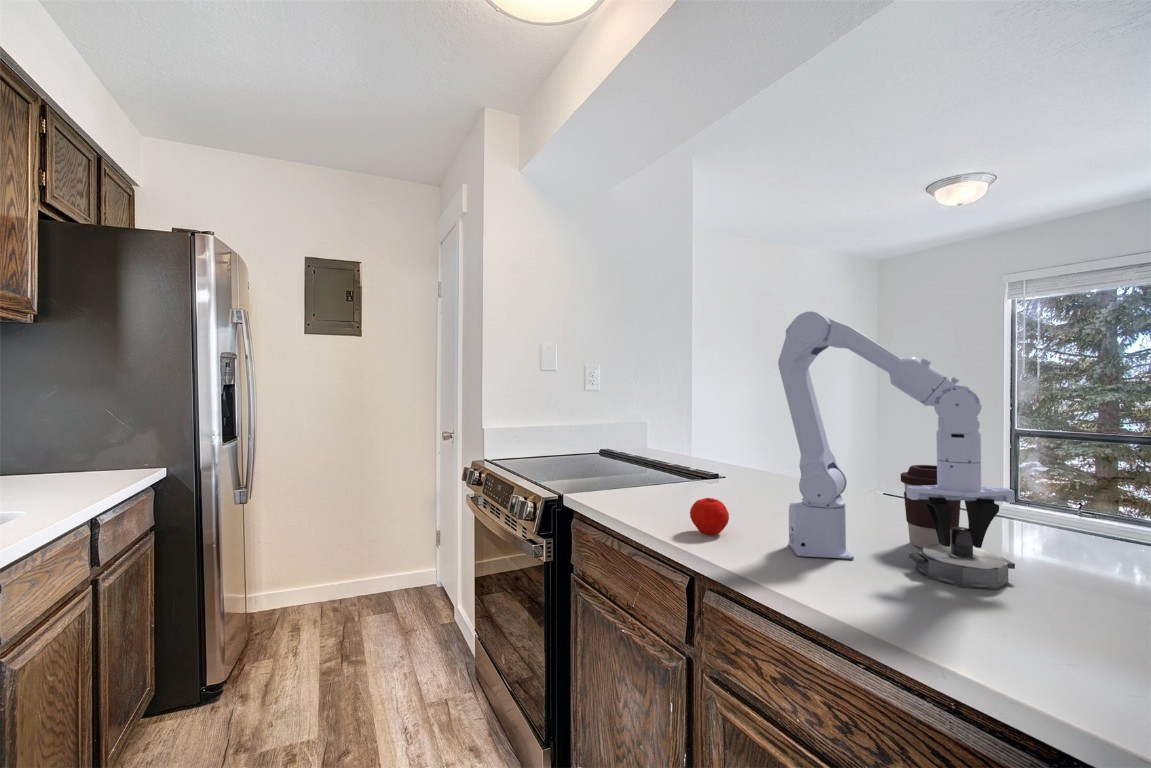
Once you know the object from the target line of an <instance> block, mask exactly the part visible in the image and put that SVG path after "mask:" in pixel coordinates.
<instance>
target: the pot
mask: <svg viewBox="0 0 1151 768" xmlns="http://www.w3.org/2000/svg"><path fill="white" fill-rule="evenodd" d="M1001 557H1002V556H1001ZM908 558H909V559H910V560H912V561H913V562H914V563H915V569H916V570H917V571H918V572H920V574H921V575H924V577H926V578H928V579H930V580H933V581H937V582H940V583H944V584H949V585H952V586H956V587H959V588H963V589H979V590H999V589H1001V588H1003V587H1005V586H1006V585H1008V584H1009V569H1010V570H1015V569H1016V563H1014V562H1013V561H1010V560H1009V559H1006V558H1005V557H1002V558H1003V559H1004V560H1005V566H1004V567H1002V568H999V569H972V568H964V567H958V566H953V565H949V564H945V563H941V562H938V561H935V560H933V559H930V558H928V557H926V556H925V555H924V554H923V548H918V549H916V550H915V551H914V552H908Z"/></svg>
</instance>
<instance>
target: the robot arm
mask: <svg viewBox="0 0 1151 768" xmlns="http://www.w3.org/2000/svg"><path fill="white" fill-rule="evenodd" d="M829 347H833V348H837V349H847V350H849V351H851V352H853V353H854V354H856V355H857V356H860V357H861V358H863V359H865V361H868V363H869V362H870V363H872V364H873V365H875V366H877V367H878V368H880V369H881V370H883V371H885V372H887V374H888V375H889V380H890V384H891V386H894V387H895V388H897V389H898V390H900V391H901V392H904V393H905V394H906V395H908V396H909V397H911V398H912V399H914V400H916V401H917V402H919V403H920V404H922V405H923V406H924V407H928V406H930V407H933V408H934V412H935V413H936V414H937V416H938V418H937V423H938V424H937V427H938V428H937V429H938V430H937V431H936V466H937V485H925V486H907V498H909V499H912V500H919V499H922V503H923V504H924V506H925V508H926V509H927V511H928V513H929V515H930V517H931V519H932V521H933V524H934V526H935V529H936V533H937V536H938V541H939V543H940V544H942V545H943V546H948V547H950V542H951V537H950V523H951V516H952V511H953V507H952V506H951V505H948V502H946V500H961V501H964V504H965V508H966V513H967V520H968V522H967V523H968V528H969V529H972V530H973V548H976V549H982V547H983V544H984V543H983V542H984V540H985V536H986V534H987V531H988V529H989V527H990V524H991V523H992V521H993V520H994V518H995V517H996V516H997V514H998V513H999V512H1000V505H999V504H997V503H995V502H1004V503H1010V504H1014V503H1015V490H1013V489H1010V488H1007V487H1006V488H1005V487H1004V488H1003V487H991V486H989V487H988V486H982V445H981V444H982V441H981V437H982V435H981V433H980V432H979V429H980V428H981V427H980V420H979V418H978V416H980V413H981V411H982V406H983V405H982V404H981V401H980V398H979V396H978V395H977V393H975V392H974V391H973V390H971V388H969V387H968V386H966V385H957V384H958V383H959V382H960V379H959V378H957V377H956V376H952V377H950V376H947V375H946V374H944V373H943V372H941V371H940V370H938V369H936V368H935V367H933V366H931V365H930V364H932V362H931V361H930V360H928V359H926V358H925V357H923V358H922V359H919V358H917V357H916V356H911V357H904V358H901V357H900V356H898V355H897V354H894V353H893V352H891V351H890V350H888V349H887V348H885V347H884V346H882V345H881V344H879V343H878V342H876V341H874V340H873V339H871V337H868V336H866V335H865V334H864V333H862V332H861V331H859V330H857V329H855V328H853V327H852V326H849V325H847V324H844V323H841V322H840V321H837V320H834V319H831V318H830V317H827V316H824V315H823V314H821V313H819V312H817V311H805V312H804V311H803V312H802V313H800V314H798V315H797V316H796V317H795V318H793V320H792V321H791V323H790V324H789V325H788V327H787V328H786V330H785V339H784V341H783V344H782V348H781V351H780V354H779V357H778V363H777V365H778V370H779V374H780V379H781V382H782V385H783V389H784V393H785V397H786V400H787V406H788V410H789V414H790V416H791V420H792V424H793V428H794V432H795V436H796V441H797V445H798V448H799V451H800V459H799V465H798V466H799V469H800V470H799V471H800V479H799V483H798V484H799V485H798V488H799V493H800V495H801V496H802V498H801V502H791V503H790V504H789V505H788V506H789V507H788V545H789V546H790V548H791V549H792V551H793V552H794V553H795V555H796V556H797V557H805V558H806V557H810V558H812V557H813V558H828V559H829V558H830V559H832V558H833V559H845V560H847V559H848V560H853V559H855V556H854V555H853V554H852V553H851V551H849V550H848V549H847V538H846V537H847V534H846V533H847V531H846V530H847V529H846V528H847V526H846V501H845V500H844V499H843V497H842V495H841V494H843V492H845V490H846V487H847V477H846V475H845V473H844V472H843V471H842V469H841V468H840V467H839V466H838V463H837V460H836V458H835V456H834V453H833V452H832V451H831V449H830V445H829V442H828V438H827V434H826V431H825V428H824V427H825V426H824V423H823V419H822V416H821V412H820V408H819V404H818V401H817V396H816V392H815V389H814V385H813V381H812V378H811V374H810V369H809V367H811V365H812V364H813V362H814V361H815V359H816V358H817V356H818V355H819V354H821V353H822V352H823V351H825V350H826V349H828V348H829Z"/></svg>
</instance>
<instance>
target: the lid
mask: <svg viewBox="0 0 1151 768" xmlns="http://www.w3.org/2000/svg"><path fill="white" fill-rule="evenodd" d="M923 554H924V555H925V556H926V557H928V558H930V559H933V560H935V561H938V562H941V563H945V564H949V565H953V566H958V567H964V568H972V569H999V568H1002V567H1004V566H1005V560H1004V559H1003V558H1004V557H1003V558H1002V556H1000V555H998V554H997V553H993V552H990V551H987V550H985V549H982V548H976V547H974V546H973V530H972V529H969V527H963V526H959V527H951V545H950V547H948V546H943V545H942V544H933V545H927V546H924V547H923Z"/></svg>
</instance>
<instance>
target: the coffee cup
mask: <svg viewBox="0 0 1151 768" xmlns="http://www.w3.org/2000/svg"><path fill="white" fill-rule="evenodd" d="M900 483H903V484H904V492H903V497H904V499H903V500H904V509H905V519H906V522H907V527H908V539H909V543H910V544H911V545H913V547H917V548H918V549H920V548H923V547H924V546H927V545H933V544H940V543H939V541H938V536H937V533H936V529H935V526H934V524H933V521H932V519H931V517H930V515H929V513H928V511H927V509H926V508H925V506H924V504H923V503H922V499H919V500H912V499H909V498H907V486H925V485H937V465H935V464H934V465H933V464H932V465H931V464H914V465H910V466H909V468H908V470H907V471H904V472H901V473H900ZM961 501H962V500H946V502H948V505H951V506H952V507H953V511H952V516H951V523H950V537H951V527H960V518H961V517H960V515H961V514H960V513H961ZM950 545H951V542H950Z"/></svg>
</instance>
